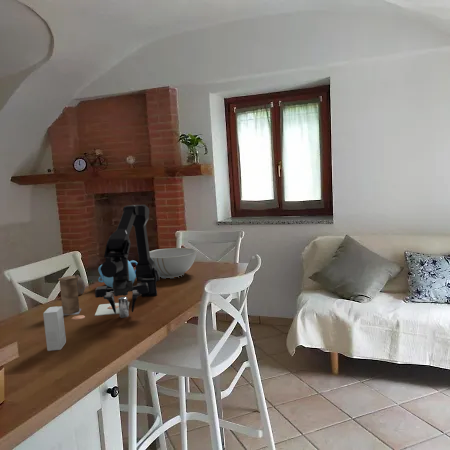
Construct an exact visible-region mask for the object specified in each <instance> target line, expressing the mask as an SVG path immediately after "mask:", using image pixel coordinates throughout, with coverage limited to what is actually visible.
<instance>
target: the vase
mask: <svg viewBox="0 0 450 450" xmlns="http://www.w3.org/2000/svg"><path fill="white" fill-rule="evenodd" d="M72 276H74V277H77V278H78V279H77V289H78V296H81V295H82V294H83V293H84V292H85V291H86V290H85V288H86V284H85V281H84V280H83V279H82V277H81V276H80V275H79V274H73V275H72Z"/></svg>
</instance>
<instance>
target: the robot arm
mask: <svg viewBox="0 0 450 450" xmlns="http://www.w3.org/2000/svg"><path fill="white" fill-rule="evenodd" d="M121 215H122V216H121V217H120V221H119V223H118V225H117V228H116V230H115V231H114V232H112V233H111V234H110V236H109V237H108V240H107V241H106V246H105V251H104V255H103V257H104V258H105V261H104V262H103V263H102V264H101V265H102V266H101V273H102V275H104V276H105V277H108V278H110V277H113V288H112V287H109V286H107V285H101V286H97V287H96V288H95V290H94V297H95V298H96V299H97V298H103V299H104V300H107V301H108V304H111V306H112V309H113V311H114V313H115V314H114V315H117V314H116V307H115V303H116V302H115V297H119V296H120V297H127V295H128V294H129V292H132V295H131V296H132V297H131V298H132V299H131V313H133V312H134V309H135V305H136V302H137V299H138V297H140V296H141V297H142V298H143V297H156V296H158V290H157V282H158V281H160V276H159V273H158V271H157V269H156V267H155V263H154V261H153V260H152V259H151V258H150V253H149V251H150V246H149V238H148V237H149V236H148V231H147V223H148V221H149V219H150V208H149V207H148V206H147V205H146V204H131V205H125V206H123V210H122V214H121ZM133 227H134V234H135V240H136V248H137V254H138V255H137V256H138V262H137V265H136V264H135V268H134V269H136V277H137V278H136V281H137V283H136V285H134V283H133V281H129V269H128V260H129V258H128V257H129V255H130V254H129V253H130V250H131V249H130V248H131V240H130V234H131V231H132V228H133Z"/></svg>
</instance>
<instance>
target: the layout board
mask: <svg viewBox="0 0 450 450" xmlns="http://www.w3.org/2000/svg"><path fill="white" fill-rule="evenodd" d="M130 303H131V302H130V301H128V309H129V306H130ZM115 307H116V314H115V313H114V311H113V309H112V306H111V304H110V303H102V304H99V305H98V307H97V309H96V312H95V314H94V316H95V317H97V316H98V317H99V316H106V315H107V316H108V315H120V313H119V302H115ZM79 310H80V311H79V312H76V313H73V314H70V315H69V314H65V313H63V317H64V316H71V315H72V316H73V315H75V316H73V317H71V320H74V321H77V320H83V319H85V318H86V316H85V315H80V312H81V311H82V308H79Z"/></svg>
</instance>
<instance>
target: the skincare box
mask: <svg viewBox="0 0 450 450" xmlns="http://www.w3.org/2000/svg"><path fill="white" fill-rule="evenodd" d="M42 314H43V326H44V332H45V341H46V350H47V352H51V351H60V350H62V349H63V347H64V346H65V344H66V343H67V337H66V329H65V328H66V327H65V320H64V316H63V308H62V305H61V306H50V307H48V308H47V309H46V310H45V311H44V312H43V313H42Z"/></svg>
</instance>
